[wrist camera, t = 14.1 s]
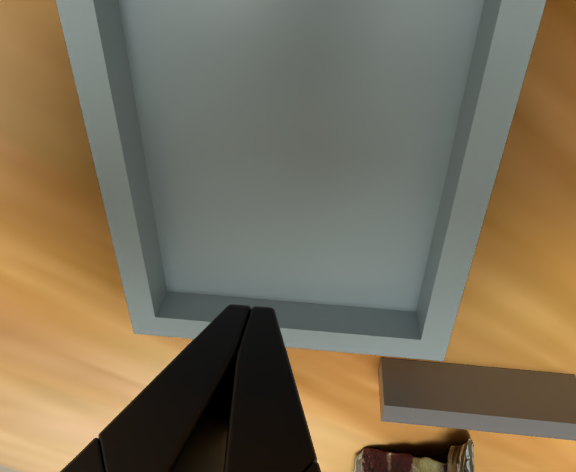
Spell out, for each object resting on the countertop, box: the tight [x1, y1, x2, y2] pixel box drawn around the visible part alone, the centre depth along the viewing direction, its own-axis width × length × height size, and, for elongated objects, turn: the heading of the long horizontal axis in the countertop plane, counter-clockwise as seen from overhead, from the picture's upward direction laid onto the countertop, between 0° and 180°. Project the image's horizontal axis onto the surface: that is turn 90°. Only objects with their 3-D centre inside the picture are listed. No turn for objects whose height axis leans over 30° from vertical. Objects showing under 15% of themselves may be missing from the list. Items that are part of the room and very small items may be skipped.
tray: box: [56, 0, 546, 361], centre depth 15 cm, size 12×15×2 cm
